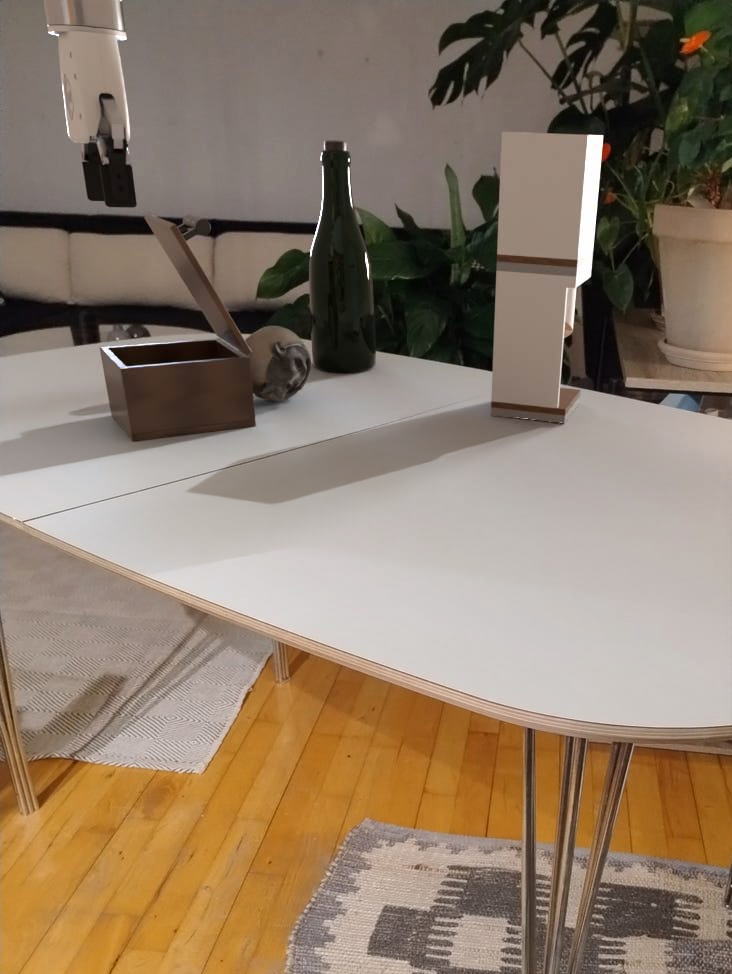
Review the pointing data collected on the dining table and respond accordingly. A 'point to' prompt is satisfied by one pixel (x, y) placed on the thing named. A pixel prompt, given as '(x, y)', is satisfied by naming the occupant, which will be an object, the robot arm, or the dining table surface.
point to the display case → (541, 267)
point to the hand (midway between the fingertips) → (111, 203)
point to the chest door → (196, 274)
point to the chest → (178, 388)
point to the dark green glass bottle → (340, 275)
